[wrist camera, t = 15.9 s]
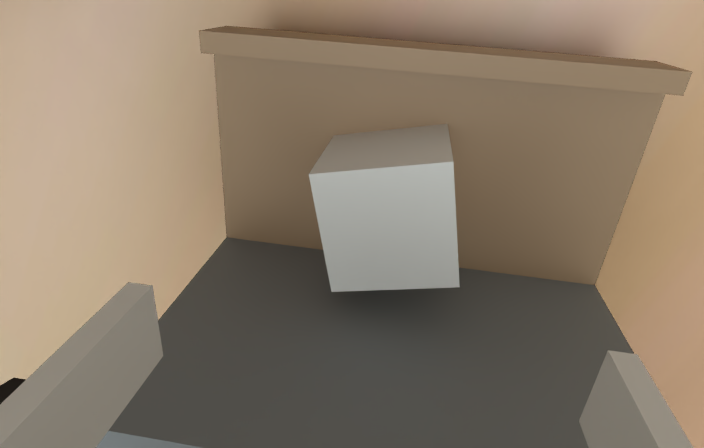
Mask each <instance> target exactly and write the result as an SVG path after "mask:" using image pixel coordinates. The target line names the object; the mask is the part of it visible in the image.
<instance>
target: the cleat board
mask: <svg viewBox="0 0 704 448" xmlns="http://www.w3.org/2000/svg"><path fill="white" fill-rule="evenodd" d="M199 38H200V50H201V53H207V54H214V63H215V77H216V92H217V106H218V120H219V134H220V149H221V163H222V177H223V191H224V206H225V220H226V234H227V238H226V239H225V240H224V241H223V242H222V244H221V245H220V246H219V247H218V249H217V250H216V251H215V252H214V253H213V255H212V256H211V257H210V258H209V259H208V261H207V262H206V263H205V264H204V266H203V267H202V268H201V269H200V270H199V272H198V273H197V274H196V275H195V277H194V278H193V279H192V280H191V281H190V283H189V284H188V285H187V286H186V287H185V289H184V290H183V291H182V292H181V294H180V295H179V296H178V297H177V298H176V300H175V301H174V302H173V303H172V305H171V306H170V307H169V308H168V309H167V311H166V312H165V313H164V314H163V315H162V317H161V318H160V319H159V320H158V324H159V331H160V337H161V344H162V350H163V357H162V358H161V360H160V361H159V362H158V364H157V365H156V366H155V368H154V369H153V371H152V372H151V373H150V375H149V376H148V377H147V379H146V380H145V381H144V383H143V384H142V385H141V387H140V388H139V390H138V391H137V392H136V394H135V395H134V396H133V398H132V399H131V400H130V402H129V403H128V405H127V406H126V407H125V409H124V410H123V411H122V413H121V414H120V415H119V417H118V418H117V420H116V421H115V422H114V424H113V425H112V426H111V428H110V429H109V430H108V432H107V433H106V434H105V436H104V437H103V439H102V440H101V441H100V443H99V444H98V445H97V447H96V448H589V447H588V444H587V442H586V439H585V436H584V434H583V431H582V428H581V425H580V423H579V420H580V417H581V415H582V412H583V410H584V407H585V405H586V403H587V400H588V398H589V395H590V393H591V390H592V388H593V385H594V383H595V381H596V378H597V376H598V373H599V371H600V368H601V366H602V363H603V361H604V359H605V356H606V354H607V351H608V350H610V351H617V352H624V353H631V354H634V352H633V351H632V349H631V347H630V346H629V344H628V342H627V340H626V339H625V337H624V335H623V333H622V332H621V330H620V328H619V326H618V325H617V323H616V321H615V319H614V318H613V316H612V314H611V313H610V311H609V309H608V307H607V306H606V304H605V302H604V300H603V299H602V297H601V295H600V293H599V292H598V290H597V288H596V286H595V283H596V280H597V278H598V275H599V272H600V270H601V267H602V264H603V262H604V259H605V256H606V253H607V251H608V248H609V245H610V243H611V240H612V237H613V234H614V232H615V229H616V226H617V224H618V221H619V218H620V216H621V213H622V210H623V207H624V205H625V202H626V199H627V197H628V194H629V191H630V188H631V186H632V183H633V180H634V178H635V175H636V172H637V170H638V167H639V164H640V161H641V159H642V156H643V153H644V151H645V148H646V145H647V142H648V140H649V137H650V134H651V132H652V129H653V126H654V124H655V121H656V118H657V115H658V113H659V110H660V107H661V105H662V102H663V99H664V97H665V94H669V95H680V96H683V95H684V92H685V90H686V87H687V84H688V82H689V79H690V77H691V74H692V72H691V71H688V70H684V69H681V68H677V67H674V66H671V65H667V64H664V63H660V62H657V61H648V60H635V59H623V58H611V57H599V56H587V55H574V54H562V53H550V52H538V51H526V50H514V49H501V48H489V47H477V46H465V45H453V44H441V43H428V42H416V41H404V40H392V39H380V38H368V37H355V36H343V35H331V34H319V33H307V32H294V31H282V30H270V29H258V28H246V27H234V26H224V27H218V28H212V29H206V30H200V31H199ZM440 124H448V130H449V137H450V143H451V149H452V156H453V163H454V183H455V204H456V224H457V244H458V264H459V284H460V287H454V288H427V289H399V290H371V291H343V292H331V287H330V282H329V277H328V272H327V267H326V262H325V256H324V251H323V246H322V241H321V236H320V231H319V225H318V220H317V215H316V210H315V205H314V200H313V194H312V189H311V184H310V179H309V173H310V171H311V170H312V168H313V167H314V165H315V164H316V162H317V161H318V159H319V158H320V156H321V155H322V153H323V152H324V150H325V148H326V147H327V145H328V144H329V142H330V141H331V139H332V138H333V136H334V135H343V134H353V133H362V132H372V131H382V130H391V129H401V128H411V127H420V126H430V125H440Z"/></svg>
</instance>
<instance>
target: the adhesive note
mask: <svg viewBox="0 0 704 448" xmlns="http://www.w3.org/2000/svg"><path fill="white" fill-rule="evenodd" d="M309 179H310V184H311V189H312V194H313V200H314V205H315V210H316V215H317V220H318V225H319V231H320V236H321V241H322V246H323V251H324V256H325V262H326V267H327V272H328V277H329V282H330V287H331V292H343V291H371V290H399V289H427V288H454V287H460V284H459V264H458V244H457V224H456V204H455V183H454V163H453V156H452V149H451V143H450V137H449V130H448V124H440V125H430V126H420V127H411V128H401V129H391V130H382V131H372V132H362V133H353V134H343V135H334V136H333V138H332V139H331V141H330V142H329V144H328V145H327V147H326V148H325V150H324V152H323V153H322V155H321V156H320V158H319V159H318V161H317V162H316V164H315V165H314V167H313V168H312V170H311V171H310V173H309Z"/></svg>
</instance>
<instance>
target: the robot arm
mask: <svg viewBox="0 0 704 448" xmlns="http://www.w3.org/2000/svg"><path fill="white" fill-rule="evenodd" d="M162 357H163V350H162V344H161V337H160V331H159V324H158V318H157V312H156V305H155V299H154V292H153V286H152V285H145V284H138V283H131V282H128V283H127V284H126V285H125V286H124V287H123V288H122V289H121V290H120V291H119V292H118V293H117V294H116V295H115V296H113V297H112V298H111V299H110V300H109V301H108V302H107V303H106V304H105V305H104V306H103V307H102V308H101V309H100V310H99V311H98V312H97V313H96V314H95V315H94V316H93V317H91V318H90V319H89V320H88V321H87V322H86V323H85V324H84V325H83V326H82V327H81V328H80V329H79V330H78V331H77V332H76V333H75V334H74V335H73V336H72V337H70V338H69V339H68V340H67V341H66V342H65V343H64V344H63V345H62V346H61V347H60V348H59V349H58V350H57V351H56V352H55V353H54V354H53V355H52V356H51V357H49V358H48V359H47V360H46V361H45V362H44V363H43V364H42V365H41V366H40V367H39V368H38V369H37V370H36V371H35V372H34V373H33V374H32V375H31V376H30V377H28V378H27V379H26V380H25V379H19V378H13V379H11V380H9V381H7V382H6V383H4V384H2V385H0V448H96V447H97V445H98V444H99V443H100V441H101V440H102V439H103V437H104V436H105V434H106V433H107V432H108V430H109V429H110V428H111V426H112V425H113V424H114V422H115V421H116V420H117V418H118V417H119V415H120V414H121V413H122V411H123V410H124V409H125V407H126V406H127V405H128V403H129V402H130V400H131V399H132V398H133V396H134V395H135V394H136V392H137V391H138V390H139V388H140V387H141V385H142V384H143V383H144V381H145V380H146V379H147V377H148V376H149V375H150V373H151V372H152V371H153V369H154V368H155V366H156V365H157V364H158V362H159V361H160V360H161V358H162ZM579 423H580V425H581V428H582V431H583V434H584V436H585V439H586V442H587V444H588V447H589V448H693V446H692V445H691V443H690V441H689V440H688V438H687V436H686V435H685V433H684V431H683V430H682V428H681V426H680V425H679V423H678V421H677V420H676V418H675V416H674V415H673V413H672V411H671V410H670V408H669V406H668V405H667V403H666V401H665V400H664V398H663V396H662V395H661V393H660V391H659V390H658V388H657V386H656V385H655V383H654V381H653V380H652V378H651V376H650V375H649V373H648V371H647V370H646V368H645V366H644V365H643V363H642V361H641V360H640V358H639V356H638V355H637V354H631V353H624V352H617V351H610V350H608V351H607V354H606V356H605V359H604V361H603V363H602V366H601V368H600V371H599V373H598V376H597V378H596V381H595V383H594V385H593V388H592V390H591V393H590V395H589V398H588V400H587V403H586V405H585V407H584V410H583V412H582V415H581V417H580V420H579Z"/></svg>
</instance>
